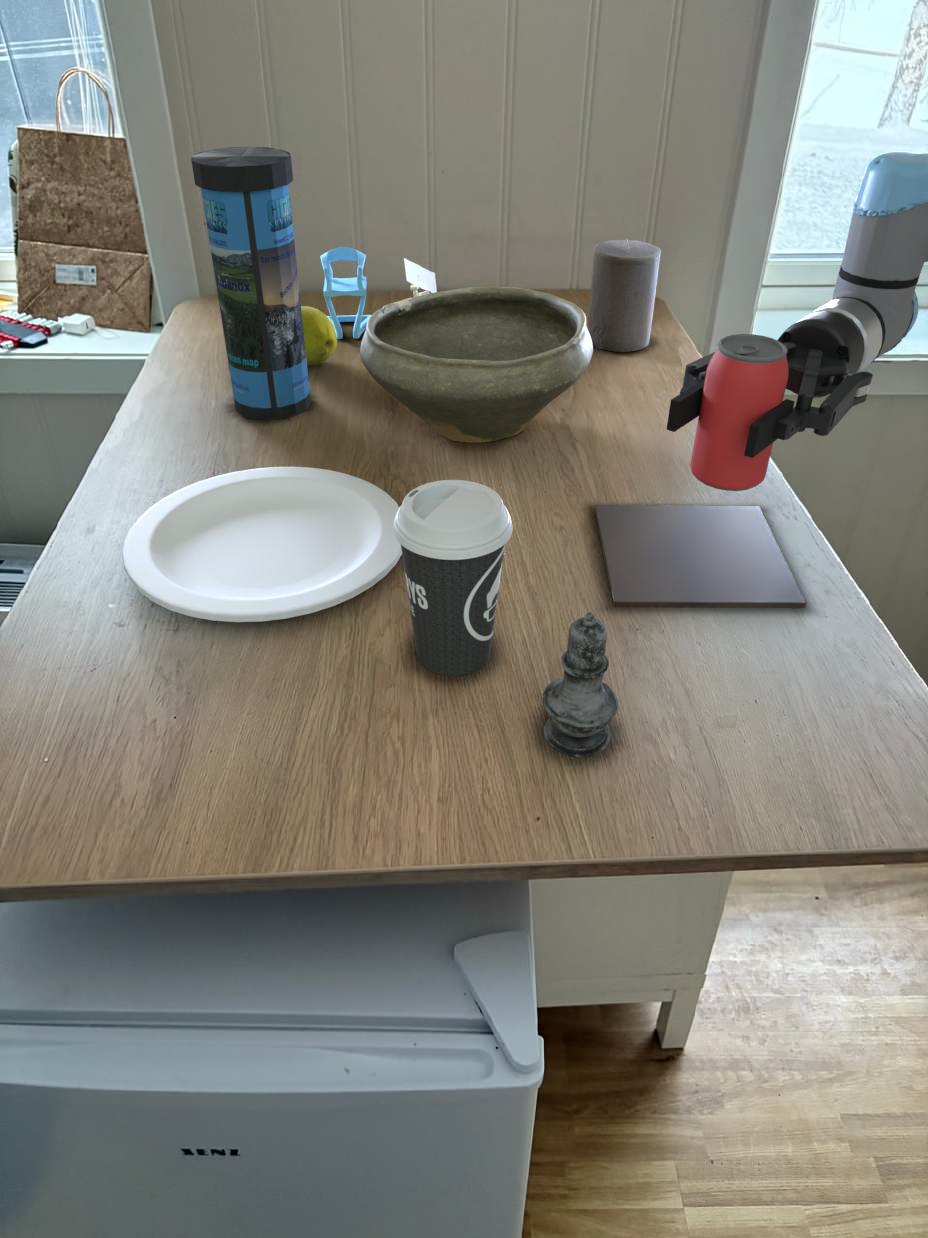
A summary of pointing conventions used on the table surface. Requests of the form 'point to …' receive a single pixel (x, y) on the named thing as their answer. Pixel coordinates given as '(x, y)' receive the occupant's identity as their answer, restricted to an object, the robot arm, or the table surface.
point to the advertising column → (256, 276)
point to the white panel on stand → (420, 278)
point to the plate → (263, 544)
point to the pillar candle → (623, 294)
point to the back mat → (694, 557)
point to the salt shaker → (581, 693)
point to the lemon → (317, 335)
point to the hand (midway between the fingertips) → (711, 428)
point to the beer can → (737, 409)
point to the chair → (345, 289)
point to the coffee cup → (453, 570)
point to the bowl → (477, 357)
